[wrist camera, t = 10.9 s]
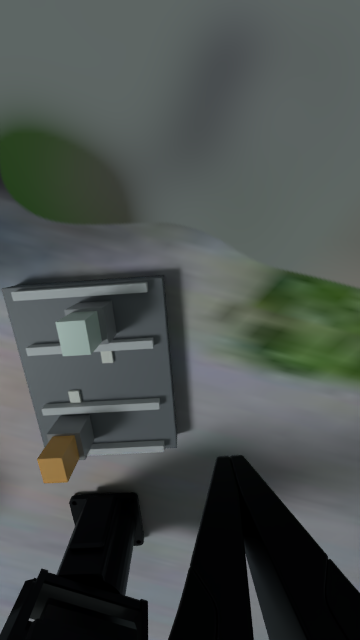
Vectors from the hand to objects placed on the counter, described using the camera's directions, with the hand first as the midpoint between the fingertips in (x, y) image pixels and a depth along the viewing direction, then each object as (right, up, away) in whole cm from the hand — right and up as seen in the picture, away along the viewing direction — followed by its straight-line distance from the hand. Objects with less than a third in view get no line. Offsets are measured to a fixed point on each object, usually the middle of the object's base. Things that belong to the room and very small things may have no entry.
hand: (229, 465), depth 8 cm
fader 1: (-7, +5, +9) cm, 13 cm away
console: (-8, +1, +12) cm, 14 cm away
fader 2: (-10, -4, +12) cm, 16 cm away
